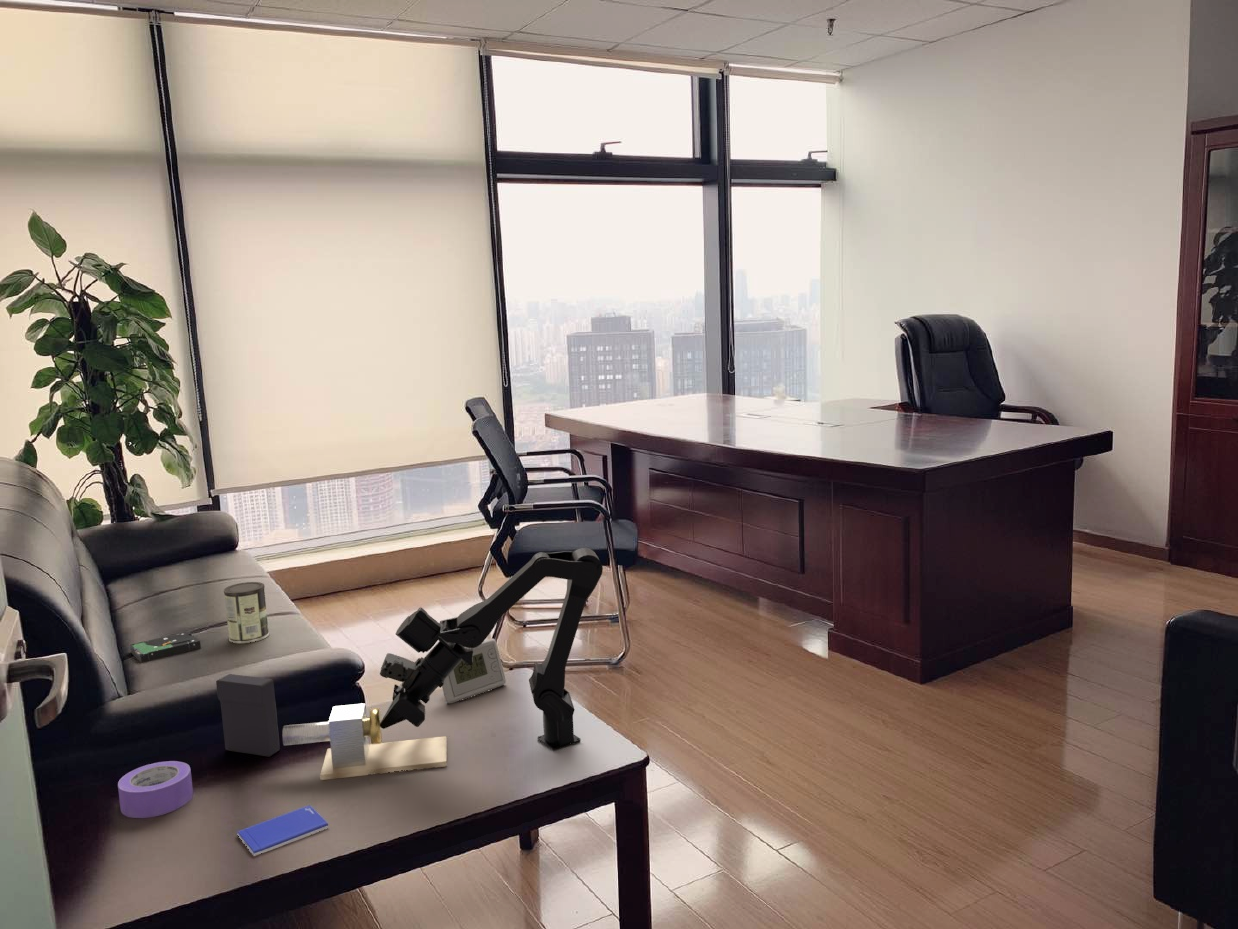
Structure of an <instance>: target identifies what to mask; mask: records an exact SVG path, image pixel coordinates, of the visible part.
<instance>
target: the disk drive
mask: <svg viewBox="0 0 1238 929" xmlns="http://www.w3.org/2000/svg"><path fill="white" fill-rule="evenodd" d="M192 634H193V633H192V632H191V631H184V632H180V633H176V634H171V635H167V636H163V637H158V638H154V639H149V640H146V641H141V642H137V643H132V644H130V653H131V654H132V655H133V656H134V658H136V659H137V661H138V662H140V663H144V662H149V661H153V660H157V659H161V658H166V657H171V656H174V655H178V654H182V653H186V652H190V651H191V652H192V651H195V650H199V649H201V648H202V647H201V646H202V645H201V640H200V639H198V637H196V636H195V635H192Z"/></svg>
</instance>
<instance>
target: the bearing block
mask: <svg viewBox="0 0 1238 929" xmlns="http://www.w3.org/2000/svg"><path fill="white" fill-rule="evenodd" d="M364 718H367V709H366V703H354V704H345V705H335V706H332V710H331V713H330V716H329V718H328V719H329V720H328V721H329V732H330V741H329V743H330V748H331V755H332V767H333V769H336V768H345V767H354V766H363V765H366V760H367V755H368V750H369V747H368V744H369V737H364V729H363V719H364Z"/></svg>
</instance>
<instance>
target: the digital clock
mask: <svg viewBox="0 0 1238 929" xmlns="http://www.w3.org/2000/svg"><path fill="white" fill-rule="evenodd" d="M465 648H466V647H465ZM499 652H500V651H499V648H498V645H497V641H496V639H495V638H489V639H485V640H484V641H483V643H482V644H481V645H479V646H478V647H476V648H473V655H472V657H473V665H472V666H470V665H469V664H467V663H466V662H465V661H464V660H462V661H461V662H460V663H459V664H458V665H457V666H456V667H455V669H454V670H453V671H452V672H451V673H450V674H449V675H448V676H447V677H446V678H445V680H444V685H443V686H442V687H441V688H442V692H443V696H444V699H445V702H447V704H454V703H457V702H460V701H461V700H462V699H466V698H468V699H470V698H469V697H471V696H474V695H477V694H479V693H483V694H484V692H485V691H488V690H491V689H494V690H495V689H496V688H499V687H501V686H504V685H506V682H507V678H506V674H505V671H504V667H503V664H502V658H501V656H500V653H499ZM491 691H492V690H491ZM488 692H489V691H488ZM485 693H486V692H485ZM477 696H478V695H477ZM474 697H475V696H474ZM471 698H472V697H471ZM459 700H460V701H459ZM466 700H467V699H466Z"/></svg>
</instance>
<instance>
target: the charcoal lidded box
mask: <svg viewBox="0 0 1238 929" xmlns="http://www.w3.org/2000/svg"><path fill="white" fill-rule="evenodd" d="M215 684H216V685H215V686H216V691H217V692H216V693H217V694H216V695H217V699H218V700H219V702H220V710H221V719H222V729H223V739H224V748H225V750H226V751H230V752H236V753H243V754H250V755H255V756H256V755H257V756H263V757H271V756H273V755H275V754H276V753H277V752H278V751H280V748H281V747H280V737H279V727H278V726H279V725H278V716H277V713H278V712H277V707H276V706H277V704H276V698H275V697H276V695H275V686H274V685H275V684H274V680H273V679H272V678H267V677H258V676H250V675H249V676H247V675H241V674H232V673H229V674H227V675H225V676H223V677H221V678H219V679H217V680H216V683H215Z"/></svg>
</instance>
